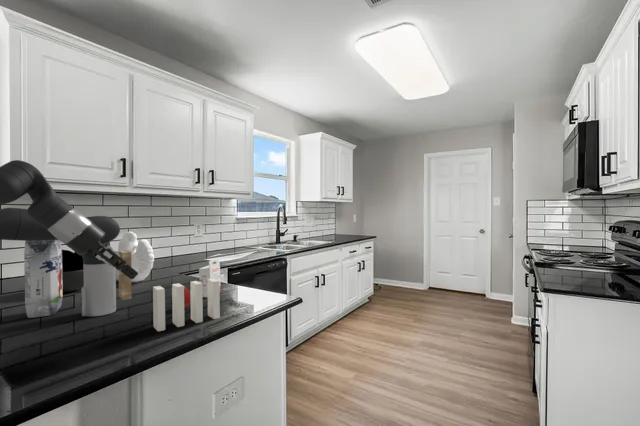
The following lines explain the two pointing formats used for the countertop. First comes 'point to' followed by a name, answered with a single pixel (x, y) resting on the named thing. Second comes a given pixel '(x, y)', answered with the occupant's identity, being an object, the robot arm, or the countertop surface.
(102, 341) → the countertop surface
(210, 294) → the domino
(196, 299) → the domino
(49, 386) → the countertop surface
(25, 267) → the juice carton
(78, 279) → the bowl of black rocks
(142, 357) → the countertop surface
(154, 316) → the domino
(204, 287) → the ink cartridge box
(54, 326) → the countertop surface
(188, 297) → the onion
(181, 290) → the domino
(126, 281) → the maple tile
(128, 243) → the decorative rooster
